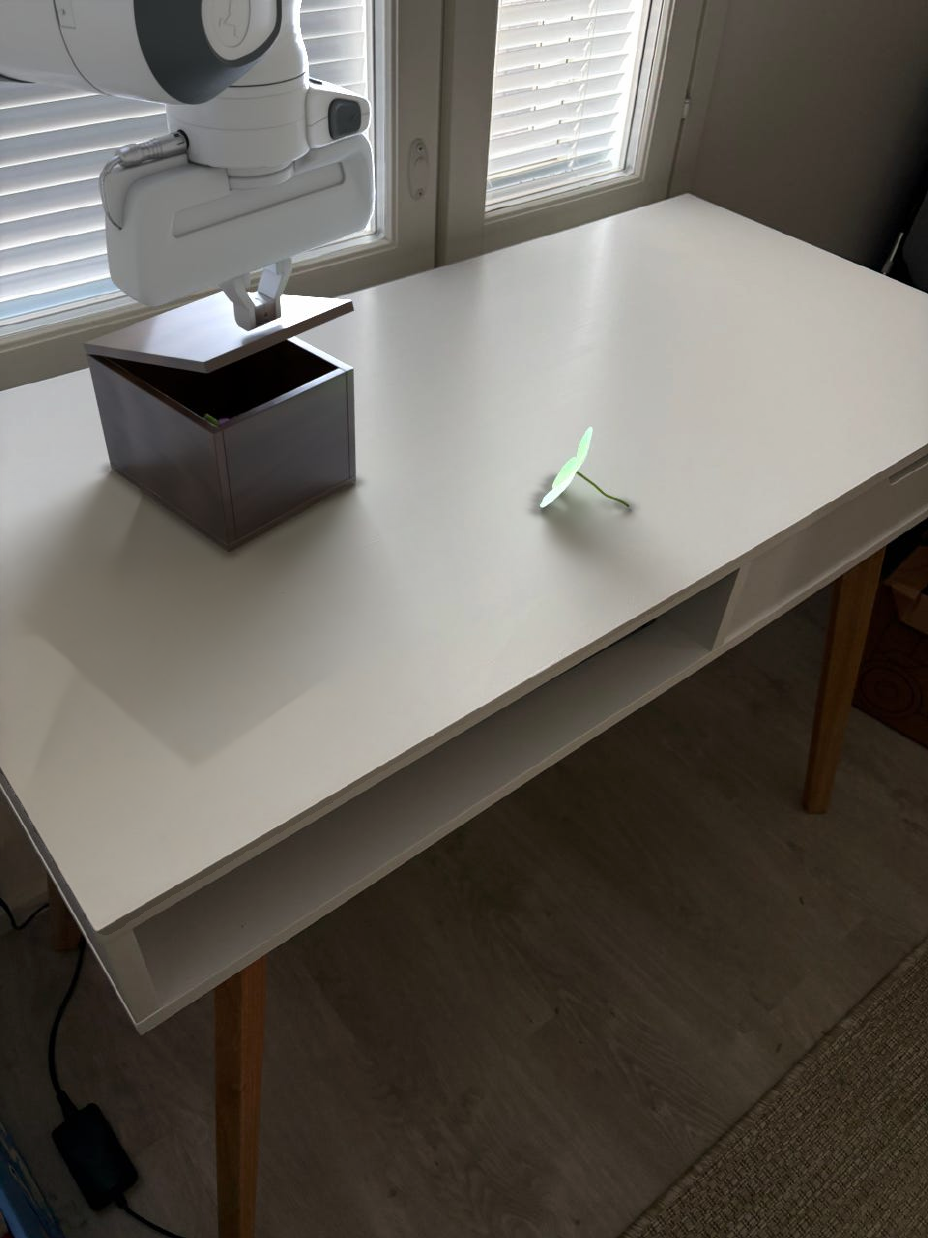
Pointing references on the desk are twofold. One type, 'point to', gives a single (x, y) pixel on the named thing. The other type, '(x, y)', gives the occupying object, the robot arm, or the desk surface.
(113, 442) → the case
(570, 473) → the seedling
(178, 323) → the cover
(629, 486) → the desk surface
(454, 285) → the desk surface
